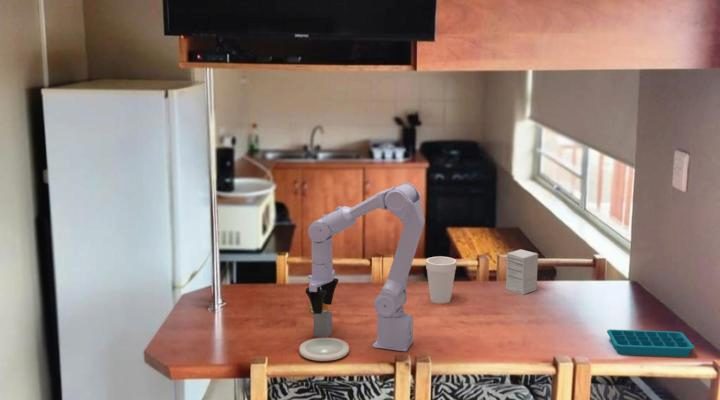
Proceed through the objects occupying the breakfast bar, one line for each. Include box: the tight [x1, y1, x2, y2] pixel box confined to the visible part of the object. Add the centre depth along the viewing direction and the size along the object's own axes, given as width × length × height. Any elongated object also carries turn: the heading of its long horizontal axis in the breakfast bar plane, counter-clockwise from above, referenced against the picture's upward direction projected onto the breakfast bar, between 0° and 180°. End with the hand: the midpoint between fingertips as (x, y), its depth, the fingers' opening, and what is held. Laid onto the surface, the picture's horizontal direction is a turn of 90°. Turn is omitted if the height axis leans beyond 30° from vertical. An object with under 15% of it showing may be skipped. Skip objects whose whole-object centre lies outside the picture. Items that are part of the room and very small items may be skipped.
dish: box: [299, 337, 350, 362], centre depth 203 cm, size 13×13×2 cm
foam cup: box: [425, 255, 457, 305], centre depth 242 cm, size 10×9×13 cm
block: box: [313, 311, 333, 338], centre depth 216 cm, size 4×4×6 cm
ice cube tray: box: [606, 328, 695, 358], centre depth 206 cm, size 12×20×3 cm, turn 84°
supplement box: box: [505, 248, 539, 296], centre depth 252 cm, size 7×7×13 cm
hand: (322, 308), depth 215 cm, fingers open, 7 cm apart
